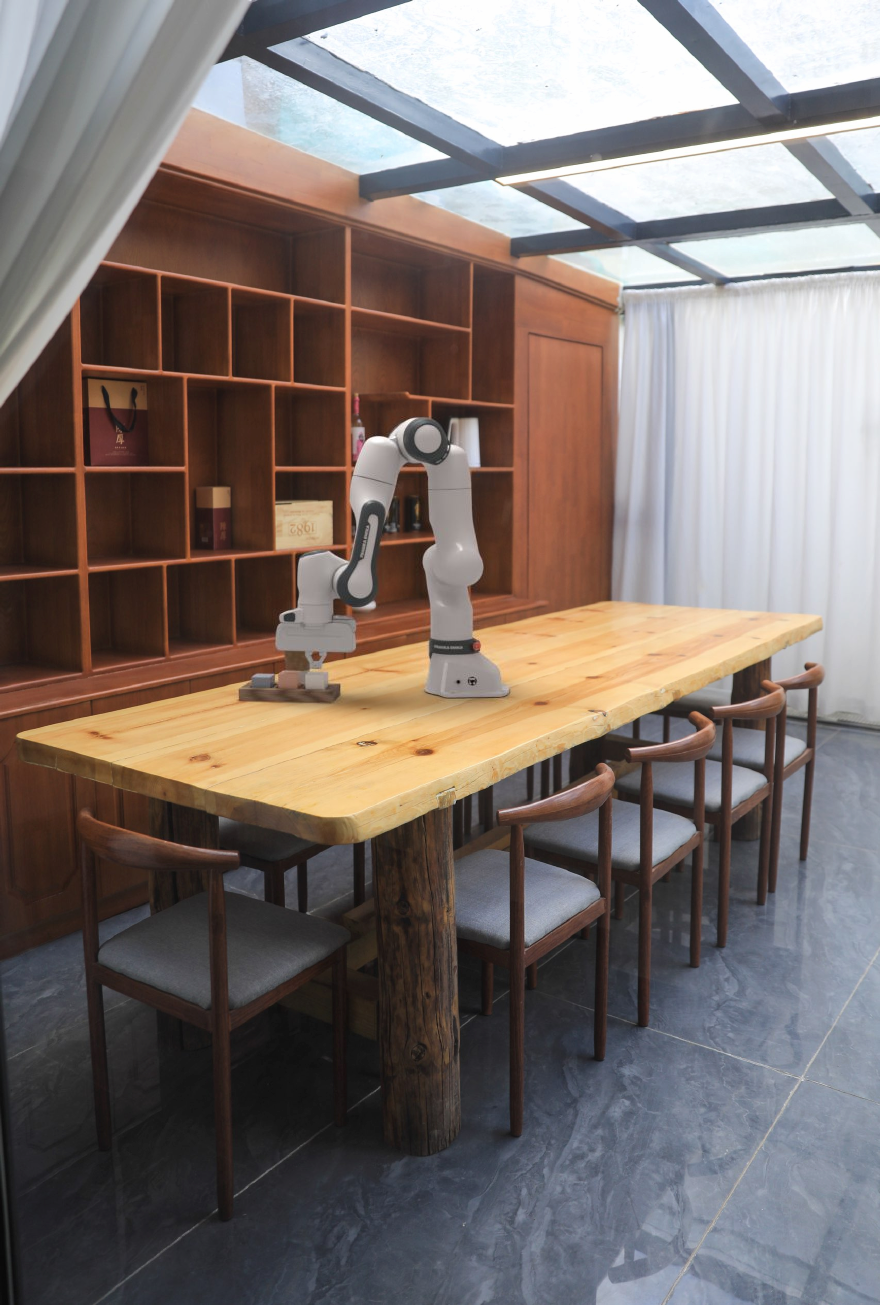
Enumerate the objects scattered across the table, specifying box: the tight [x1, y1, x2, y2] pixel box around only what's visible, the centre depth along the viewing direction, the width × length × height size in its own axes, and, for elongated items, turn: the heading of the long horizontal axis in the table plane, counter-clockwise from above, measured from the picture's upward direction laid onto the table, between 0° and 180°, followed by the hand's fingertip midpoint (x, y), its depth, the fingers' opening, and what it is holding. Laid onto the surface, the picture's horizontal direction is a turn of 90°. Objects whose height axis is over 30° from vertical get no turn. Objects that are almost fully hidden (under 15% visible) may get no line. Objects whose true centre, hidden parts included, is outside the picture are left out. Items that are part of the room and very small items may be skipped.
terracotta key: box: [277, 669, 302, 689], centre depth 260 cm, size 5×5×4 cm
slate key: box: [250, 673, 276, 688], centre depth 261 cm, size 5×5×4 cm
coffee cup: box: [283, 651, 311, 683], centre depth 279 cm, size 8×8×15 cm
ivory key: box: [305, 670, 329, 690], centre depth 259 cm, size 5×5×4 cm
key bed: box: [238, 680, 341, 704], centre depth 260 cm, size 24×10×3 cm, turn 84°
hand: (316, 668), depth 258 cm, fingers closed
